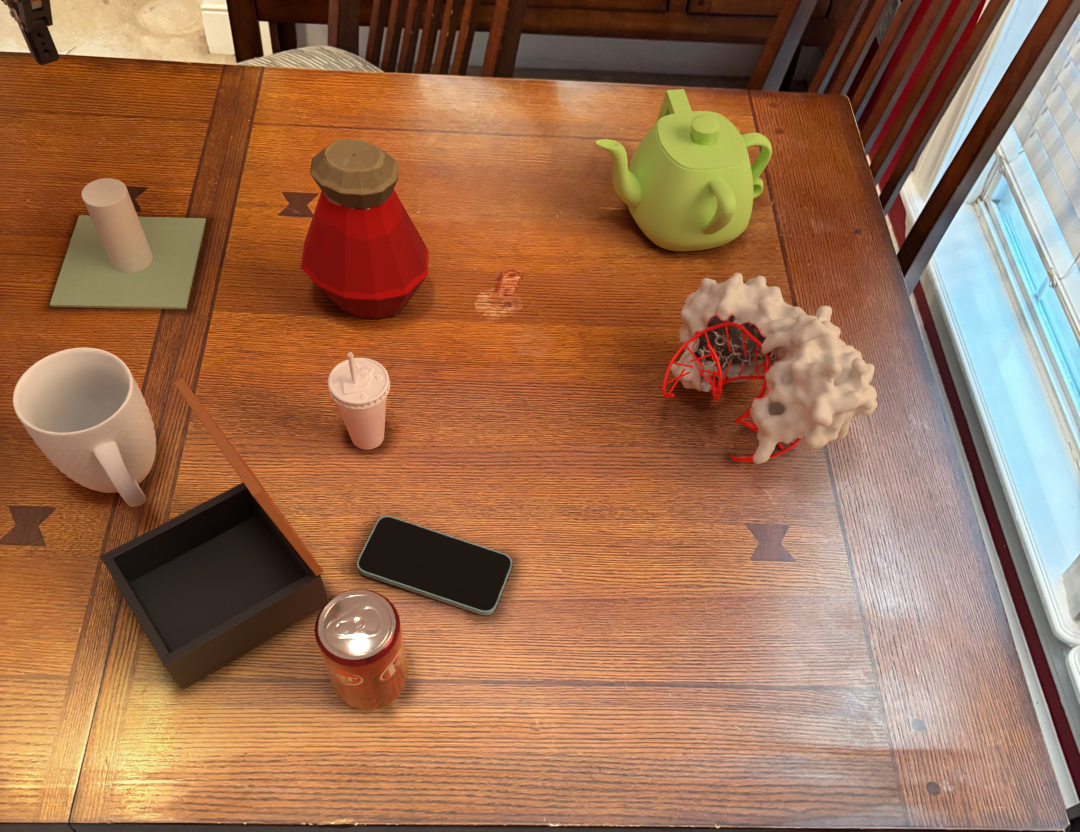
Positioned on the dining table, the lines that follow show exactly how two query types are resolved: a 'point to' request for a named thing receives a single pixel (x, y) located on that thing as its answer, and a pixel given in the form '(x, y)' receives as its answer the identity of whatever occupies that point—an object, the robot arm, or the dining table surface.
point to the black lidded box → (214, 584)
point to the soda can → (362, 648)
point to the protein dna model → (772, 363)
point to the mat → (154, 287)
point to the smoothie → (361, 399)
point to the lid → (247, 476)
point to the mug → (89, 420)
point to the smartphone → (435, 565)
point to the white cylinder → (117, 224)
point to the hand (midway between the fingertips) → (46, 59)
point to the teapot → (689, 177)
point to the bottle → (362, 233)
